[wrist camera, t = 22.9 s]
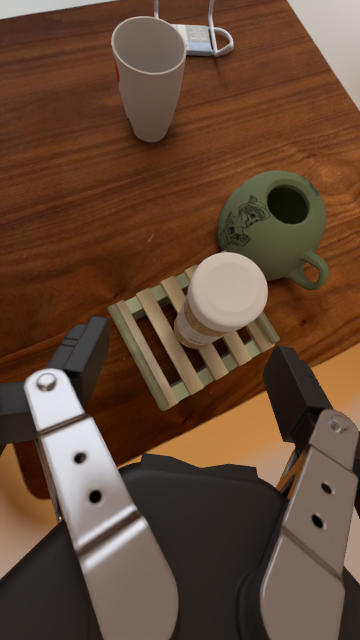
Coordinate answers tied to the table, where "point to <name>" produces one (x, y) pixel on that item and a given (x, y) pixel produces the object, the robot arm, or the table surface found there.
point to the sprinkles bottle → (220, 299)
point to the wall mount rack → (201, 36)
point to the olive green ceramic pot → (276, 226)
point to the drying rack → (190, 379)
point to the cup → (149, 73)
